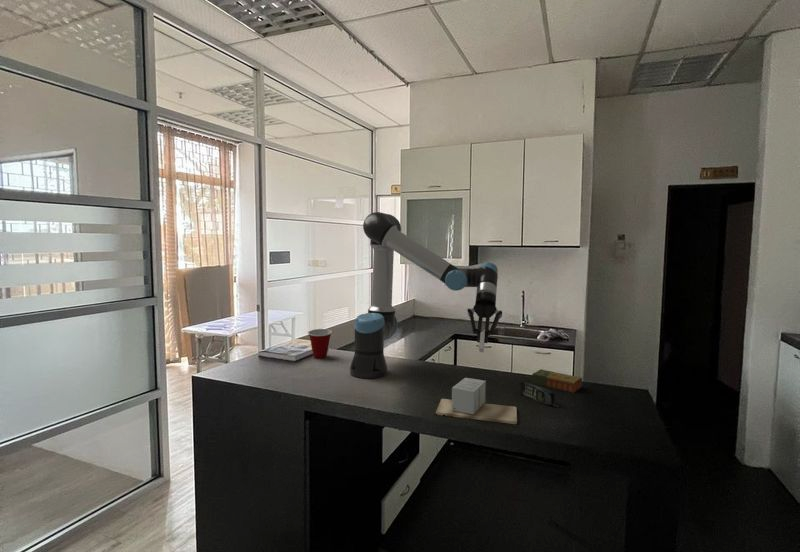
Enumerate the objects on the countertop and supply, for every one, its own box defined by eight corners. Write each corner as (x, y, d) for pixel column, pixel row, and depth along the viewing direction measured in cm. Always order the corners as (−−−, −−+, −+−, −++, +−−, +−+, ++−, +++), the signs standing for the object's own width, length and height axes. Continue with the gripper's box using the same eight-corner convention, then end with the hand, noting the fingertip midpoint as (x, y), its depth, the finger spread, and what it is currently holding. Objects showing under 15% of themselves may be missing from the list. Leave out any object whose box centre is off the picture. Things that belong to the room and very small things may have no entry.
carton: (573, 394, 151) (574, 382, 151) (531, 383, 162) (531, 372, 161) (581, 388, 157) (582, 377, 157) (540, 378, 168) (540, 368, 168)
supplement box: (486, 402, 138) (473, 415, 126) (464, 398, 141) (450, 410, 130) (486, 380, 137) (474, 391, 126) (465, 376, 140) (451, 387, 129)
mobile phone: (519, 381, 148) (554, 393, 135) (525, 380, 150) (560, 392, 137) (519, 395, 148) (553, 408, 135) (525, 394, 150) (560, 407, 137)
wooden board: (435, 414, 129) (435, 412, 129) (441, 400, 140) (441, 398, 140) (516, 424, 123) (517, 421, 123) (516, 409, 134) (516, 406, 134)
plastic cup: (303, 359, 188) (304, 332, 187) (312, 353, 199) (313, 328, 198) (327, 360, 186) (327, 334, 185) (334, 354, 197) (335, 329, 196)
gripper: (503, 303, 162) (500, 357, 147) (469, 302, 165) (463, 354, 150) (503, 291, 156) (500, 345, 141) (468, 289, 159) (461, 342, 145)
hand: (481, 350), depth 146 cm, fingers closed
